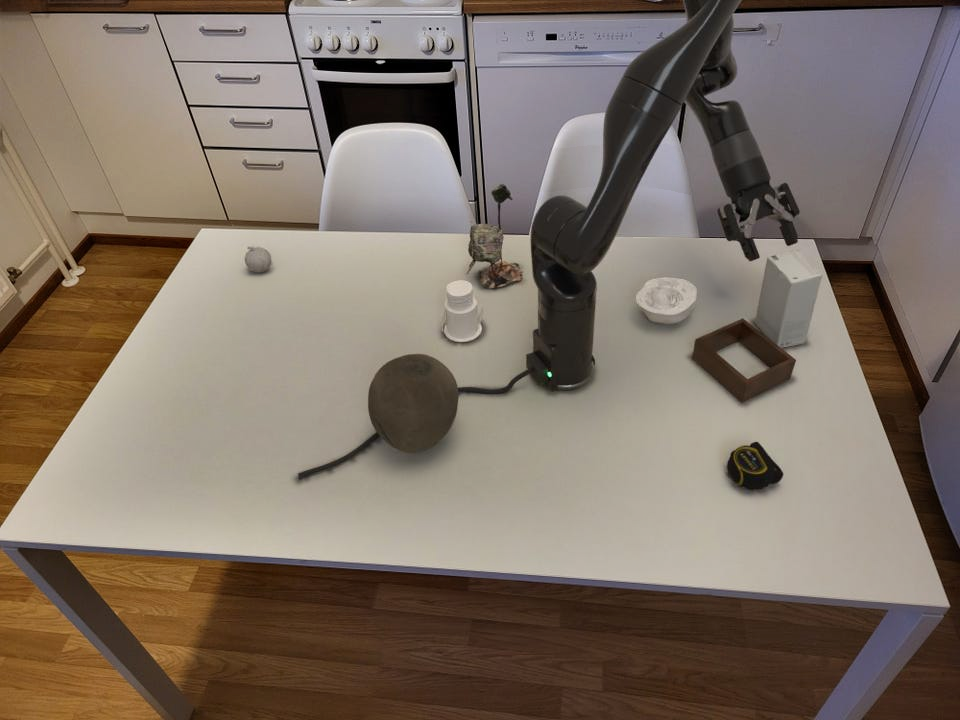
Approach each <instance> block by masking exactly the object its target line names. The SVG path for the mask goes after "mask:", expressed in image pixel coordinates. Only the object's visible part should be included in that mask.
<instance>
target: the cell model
mask: <svg viewBox="0 0 960 720" xmlns="http://www.w3.org/2000/svg"><path fill="white" fill-rule="evenodd" d="M697 295H698V288H697V287H696V286H695V285H694V284H693V283H692V282H691V281H689V280H687V279H685V278H684V279H683V278H679V277H678V278H677V277H668V276H661V277H656V278H652V279H649V280H647V281H646V282H645V283H644V285H643V286H642V288H641V289H639V290H638V291H637V293H636V295H635V302H636V303H637V306H638V309H640V310H641V312H643V314H644V315H645V316H646V317H647V319H648V320H649V321H650V322H652V323H658V324H665V325H675V324H678V323H680V322H682V321H684V320H685V319H687V318H688V317H689V316H690V315H691V313H692V311H693V309H694V307H695V304H696V300H697Z"/></svg>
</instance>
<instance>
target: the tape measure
mask: <svg viewBox="0 0 960 720" xmlns="http://www.w3.org/2000/svg"><path fill="white" fill-rule="evenodd" d="M726 471H727V473H728V476H729V477H730V479H731V480H732V481H733V482H734V483H735V484H736V485H738V486H739V487H740V488H744V490H750V491H761V490H763V489H765V488H767V487H769V486H771V485H775V484H778V483H779V482H781V481H782V479H783V477H784V472H783V470H782V469H781V467H780V466H779V464H777V463H776V462H775V461H774V460H773V458H772V457H771V456H770V455H769V454H768V452H767V451H766V449H765V448H764V447H763V446H762V444H760V442H759V441H754V442H751V443H750V444H749V445H741V446H739V447H737V448H736V449H734V450H732V451H731V452H730V455H729V458H728V460H727V463H726Z"/></svg>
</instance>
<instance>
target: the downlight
mask: <svg viewBox="0 0 960 720" xmlns="http://www.w3.org/2000/svg"><path fill="white" fill-rule="evenodd" d="M473 290H474V289H473V284H472V283H470V282H469V281H467V280H465V279H464V280H462V279H458V280H453V281H451V282H450V283H448V284H447V286H446V299H445V301H444V309H443V314H442V317H441V321H440V329H441V332H443V333H444V335H445V337H446V338H448V339H449V340H450V341H452V342H455V343H456V342H457V343H466V342H467V343H468V342H471V341H474V340H475V339H477V338H478V337H480V335H481V333H482V331H483V326H482V324H481V321H482V318H483V315H484V307H483V305H482V304H480V314H479V313H478V301H477V299H476V297H475V296H474V291H473ZM478 315H479V316H478ZM445 320H446V322H445ZM444 322H445V323H446V324H445V325H444ZM443 326H444V328H443Z"/></svg>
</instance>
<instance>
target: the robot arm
mask: <svg viewBox="0 0 960 720" xmlns="http://www.w3.org/2000/svg"><path fill="white" fill-rule="evenodd" d="M682 1H683V6H684V10H685V18H686V22H685V23H684V24H683V25H682V26H680V27H679V28H677V29H676V30H675V31H673V32H672V33H670V34H669V35H667V36H665V37H664V38H662V39H660V40H659V41H658V42H656V43H654V44H653V45H651V46H650V47H648V48H647V49H645V50H644V51H642V52H641V53H639V54H638V55H637V56H636V57H635V58H633V60H632V61H631V62H630V63H629V64H628V66H627V67H626V69H625V71H624V72H623V74H622V76H621V78H620V80H619V82H618V83H617V86H616V87H615V90H614V91H613V93H612V95H611V97H610V100H609V101H608V104H607V105H606V108H605V114H604V117H603V131H602V166H601V173H600V176H599V180H598V182H597V185H596V187H595V190H594V192H593V195H592V196H591V199H590V200H589V203H588V205H587V206H586V205H584V203H581V202H579V201H578V200H576V199H575V198H573V197H570V196H568V195H561V194H560V195H555V196H551V197H550V198H548V199H547V200H545V202H543V203H542V205H541V206H540V207H539V208H538V210H537V211H536V213H535V215H534V217H533V220H532V223H531V228H530V239H529V240H530V258H531V271H532V272H531V273H532V279H533V281H534V284H535V287H536V288H537V328H535V329H533V330H532V352H529V353H526V354H525V358H526V359H525V360H526V363H525V364H526V365H525V367H526V370H524V371H522V372H521V373H518V374H517V375H516V376H514V377H513V378H512V379H511V380H510V381H509V383H508V384H507V385H506V386H503V387H501V388H495V389H493V388H491V389H490V388H482V387H476V386H475V387H473V386H462V387H461V386H460V387H458V394H459V393H476V394H477V393H478V394H484V395H485V394H486V395H499V394H503V393H507V392H509V391H510V390H511V389H512V388H513V387H514V385H515V384H516V383H517V382H519V381H520V380H522V379H524V378H525V377H527V376H529V375H531V376H532V378H533V379H534V381H535V383H536V384H537V385H538V386H539V385H543V384H544V385H545V386H546V387H547V388H548V389H549V391H550V392H555V391H572V390H577V389H579V388H581V387H584V385H586V384H587V383H588V382H589V381H590V379H591V378H592V374H593V366H594V367H595V366H596V359H595V357H594V355H593V354H594V353H593V352H594V335H595V334H594V333H595V318H596V304H597V291H598V290H597V289H598V284H597V278H596V276H595V274H594V273H593V271H594V270H595V269H596V268H597V267H598V266H599V265H600V263H601V262H602V261H603V260H604V258H605V257H606V255H607V253H608V252H609V250H610V248H611V247H612V244H613V242H614V241H615V238H616V236H617V234H618V231H619V229H620V227H621V225H622V223H623V220H624V218H625V216H626V213H627V211H628V209H629V206H630V204H631V202H632V199H633V197H634V195H635V193H636V191H637V189H638V187H639V184H640V182H641V181H642V179H643V177H644V175H645V173H646V171H647V170H648V167H649V165H650V164H651V162H652V159H653V157H654V156H655V154H656V152H657V151H658V150H659V147H660V145H661V144H662V142H663V140H664V139H665V137H666V135H667V134H668V131H669V130H670V129H671V127H672V125H673V124H674V121H675V120H676V117H677V116H678V114H679V112H680V110H681V108H682V106H683V105H684V104H685V105H686V106H687V107H688V108H689V110H690V111H691V112H692V114H693V116H694V117H695V118H696V119H697V121H698V123H699V125H700V126H701V130H702V131H703V134H704V136H705V140H706V142H707V144H708V146H709V149H710V152H711V158H712V162H713V164H714V167H715V169H716V172H717V174H718V177H719V179H720V183H721V184H722V187H723V189H724V192H725V195H726V196H727V198H730V202H731V203H726V204H725V205H721V206H720V207H719V208H717V215H718V217H719V220H720V221H719V222H720V223H721V227H722V229H723V232H724V235H725V239H726V241H727V242H738V243H739V245H740V248H741V250H742V253H743V256H744V258H745V259H746V260H748V262H753V261H756V260H759V259H760V257H761V256H760V253H759V251H758V248H757V246H756V243H755V240H754V238H753V237H751V235H752V231H753V227H754V226H755V224H756V222H757V221H759V220H762V219H764V218H767V219H769V220H773V221H774V222H775V223H777V224H778V225H780V226H779V230H780V232H781V235H782V238H783V241H784V243H785V245H786V246H787V247H790V246H793V245H795V244H797V243H798V242H799V240H798V239H799V235H798V233H797V230H796V228H795V225H794V222H793V221H794V219H795V217H797V216H798V215H800V213H801V210H800V208H799V206H798V204H797V202H796V199H795V197H794V195H793V193H792V191H791V188H790V186H789V184H788V183H787V182H784V183H780V184H779V185H776V186H774V187H772V185H771V183H770V181H771V175H770V173H769V172H770V171H769V169H768V167H767V164H766V162H765V159H764V156H763V154H762V152H761V149H760V146H759V144H758V142H757V140H756V137H755V136H754V134H753V132H752V129H751V128H750V125H749V123H748V120H747V118H746V115H745V113H744V110H743V108H742V105H741V104H740V102H739V101H737V100H734V99H731V100H725V101H719V102H718V101H717V102H713V101H711V100H709V99H707V98H706V96H709V95H711V94H713V93H716V92H718V91H720V90H723V89H725V88H727V87H729V86H730V85H731V84H732V83H733V82H734V81H735V80H736V78H737V76H738V64H737V61H736V58H735V56H734V53H733V51H732V40H733V35H734V34H733V33H734V23H735V22H734V21H735V20H734V13H735V12H736V10H737V8H738V7H739V5H740V4H741V2H742V1H743V0H682ZM736 215H738V216H737V218H736ZM379 437H380V436H379V434H378V433H377V432H376V431H375V433H373V434H372V435H371V436H369V438H367V439H366V440H365V441H363V442H362V443H361V444H360V445H359V446H357V447H356V448H354V449H353V450H351V451H350V452H348V453H347V454H345V455H344V456H341V457H340V458H338V459H335V460H333V461H330V462H328V463H325V464H323V465H318V466H316V467H313V468H310V469H309V468H308V469H306V470H304V471H300V472H298V473H297V476H298V479H302V478H305V477H307V476H310V475H313V474H314V475H315V474H317V473H320V472H323V471H326V470H329V469H332V468H334V467H337V466H339V465H341V464H342V463H345V462H346V461H348V460H350V459H352V458H353V457H355V456H356V455H358V454H360V452H361V451H363V450H364V449H366V448H367V447H368V446H369V445H371V444H372V443H373V442H374V441H375V440H376V439H378V438H379Z"/></svg>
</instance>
